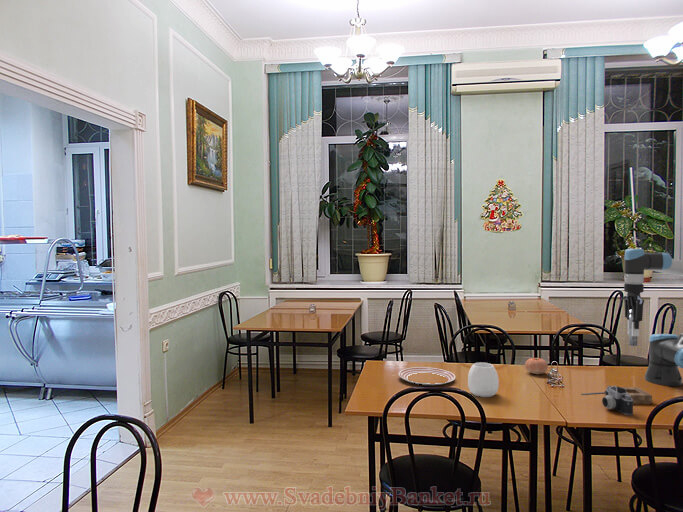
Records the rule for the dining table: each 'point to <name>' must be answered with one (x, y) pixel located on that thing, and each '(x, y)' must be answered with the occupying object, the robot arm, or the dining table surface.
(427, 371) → the dinner plate
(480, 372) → the cup
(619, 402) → the camera
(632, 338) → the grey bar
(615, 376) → the dining table surface
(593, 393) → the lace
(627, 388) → the brown square tray
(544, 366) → the tomato
